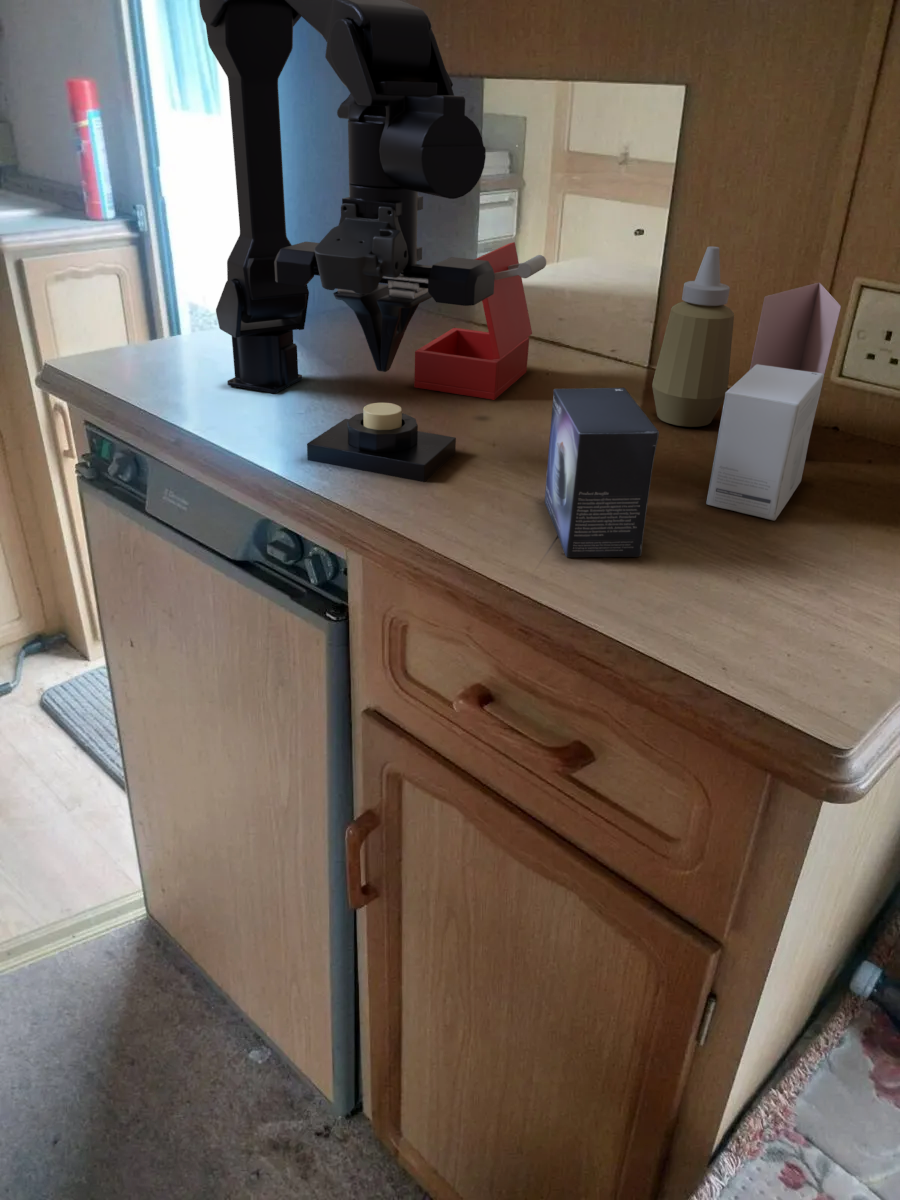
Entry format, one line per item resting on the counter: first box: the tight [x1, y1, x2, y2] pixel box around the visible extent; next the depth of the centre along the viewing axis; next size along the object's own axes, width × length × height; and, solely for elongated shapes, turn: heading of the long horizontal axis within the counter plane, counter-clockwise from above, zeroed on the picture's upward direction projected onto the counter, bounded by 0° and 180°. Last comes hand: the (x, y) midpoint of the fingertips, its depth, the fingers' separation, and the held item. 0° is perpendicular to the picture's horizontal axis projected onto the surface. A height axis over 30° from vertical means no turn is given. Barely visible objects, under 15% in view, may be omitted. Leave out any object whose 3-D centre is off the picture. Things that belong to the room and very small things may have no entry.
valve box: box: [413, 327, 530, 401], centre depth 110 cm, size 10×13×4 cm
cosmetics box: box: [705, 364, 825, 521], centre depth 81 cm, size 10×6×10 cm, turn 150°
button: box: [362, 402, 403, 430], centre depth 86 cm, size 4×4×2 cm
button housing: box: [306, 412, 457, 483], centre depth 87 cm, size 12×8×4 cm, turn 69°
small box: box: [544, 387, 660, 558], centre depth 73 cm, size 11×6×10 cm, turn 5°
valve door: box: [474, 241, 547, 359], centre depth 104 cm, size 11×13×5 cm
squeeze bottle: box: [651, 246, 735, 428], centre depth 96 cm, size 8×8×18 cm
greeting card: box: [749, 282, 842, 375], centre depth 92 cm, size 11×7×15 cm, turn 135°
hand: (383, 370), depth 83 cm, fingers closed
